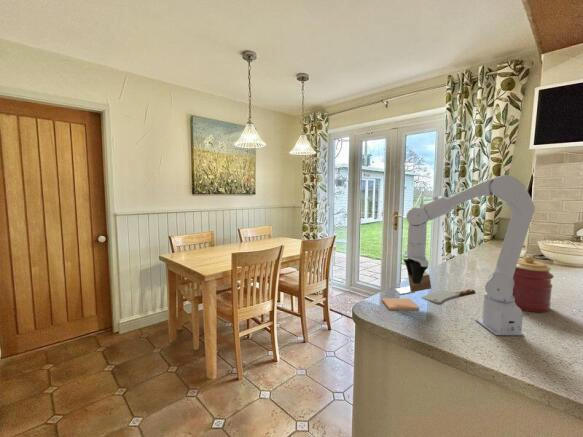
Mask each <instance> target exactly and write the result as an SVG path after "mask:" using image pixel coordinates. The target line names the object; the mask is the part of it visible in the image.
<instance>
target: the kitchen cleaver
mask: <svg viewBox="0 0 583 437" xmlns="http://www.w3.org/2000/svg"><path fill="white" fill-rule="evenodd" d="M475 293H476V290H475V289H470V288H469V289H468V288H467V289H466V290H461V291H459V292H458V291H457V292H454V291H453V292H452V291H446V290H440V291H436V292H432V293H429V294H426V295H424V296H421V299H423V300H425V301H429V302H430V303H434V304H437V305H438V304H439V305H442V303H444V302H445V301H447V300H450V299H455V298H458V297H462V296H467V295H473V294H475Z"/></svg>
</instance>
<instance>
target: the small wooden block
mask: <svg viewBox="0 0 583 437" xmlns="http://www.w3.org/2000/svg"><path fill="white" fill-rule="evenodd" d="M407 276H408V283H409V285H407V286H403V287H398V288H396V287H395V288H394V290H395V291H394V292H396V293H397V294H398V295H399V296H405V295H411V294H415V293H416V292H420V291H425V290H427V291H428V290H431V289H432V284H431V278H430V274H429V273H428V272H426V271H425V272H424V274H423V277H422V280H421V283H420V284H414V283H413V277H412V275H408V274H407Z"/></svg>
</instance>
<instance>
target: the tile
mask: <svg viewBox="0 0 583 437" xmlns="http://www.w3.org/2000/svg"><path fill="white" fill-rule="evenodd" d="M381 301H382V302H384V303H383V304H384V305H385V306H387V307H386V308H387V309H388V310H389V311H420V307H419V306H418V305H417V304H416V303H415V302H414V301H413V300H412V299H411V298H402V297H401V298H399V297H398V298H391V297H388V298H385V297H382V298H381ZM398 309H400V310H398Z"/></svg>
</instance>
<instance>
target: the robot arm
mask: <svg viewBox="0 0 583 437" xmlns="http://www.w3.org/2000/svg"><path fill="white" fill-rule="evenodd" d="M491 196H495V197H497V198H498V199H500V200H501V201H503V202H504V203H505V204H506V205H507V206H508V207H509V209H510V210H511V211H512V213H511V217H510V220H509V223H508V225H507V230H506V233H505V236H504V239H503V242H502V246H501V249H500V252H499V254H498V258H497V261H496V264H495V267H494V271H493V272H492V273H491V274H490V275H489V277H488V280H487V282H486V283H485V286H484V289H485V291H484V292H483V293H484V294H483V305H482V317H481V318H479V317H476V318H475V321H476V322H478V323H479V324H480V325H481V326H483V327H485V329H486V330H488V331H490V332H491V333H492V334H494V335H495V336H525V333H524V332H522V330H523V329H522V327H523V320H524V319H523V318H524V317H523V316H524V313H523V310H521V309H520V308H519V307H518V306H517V305H516V303H515V297H513V295H512V294H513V287H514V279H513V276H514V272H515V269H516V266H517V263H518V260H519V259H520V256H521V254H522V249H523V247H524V244H525V241H526V238H527V234H528V231H529V228H530V225H531V223H532V219H533V216H534V213H535V208H536V206H535V203H534V201H533V199H532V197H531V195H530V193H529V192H528V190H527V188H526V186H525V184H523V182H521V180H519V179H518V178H516V177H515V176H513V175H510V174H503V175H500V176H497V177H495V178H491V179H487V180H484V181H482V182H478V183H476V184H474V185H472V186H470V187H468V188H466V189H464V190H462V191H459V192H458V193H455V194H453V195H451V196H448V197H446V196H443V195H442V196H441V195H440V196H438V195H437V196H434V197H433V199H432V200H430V201H428V202H426V203H423V202H422V203H420V204H419V207H412V208H411V209H409V210H408V211H407V213H406V220H407V222H408V229H407V245H406V246H407V248H406V250H404V254H403V255H402V256H403V258H405V259H403V262H404V264H405V267H406V270H407V276H408V275H412V277H413V283H414V284H420V283H421V280H422V277H423V274H424V272H426V270H427V269H428V268H429V262H430V261H429V260H428V258H427V256H426V250H427V249H426V248H427V231H428V230H427V225H428V224H427V223H428V222H429V221H432V220H436V219H437V218H439V217H442V216H445V215H447V214H449V213H451V212H452V209H453V207H455V206H457V205H460V204H463V203H467V202H468V201H470V200H472V199H476V198H478V197H491Z"/></svg>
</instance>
